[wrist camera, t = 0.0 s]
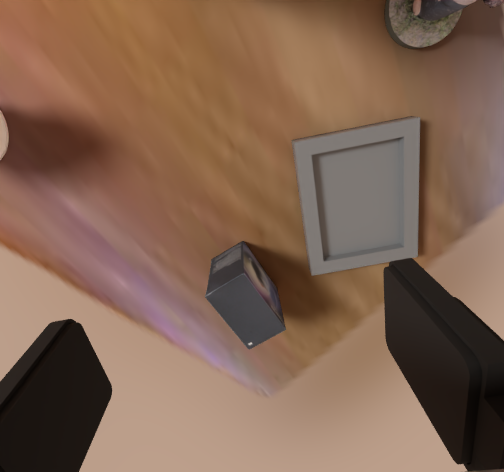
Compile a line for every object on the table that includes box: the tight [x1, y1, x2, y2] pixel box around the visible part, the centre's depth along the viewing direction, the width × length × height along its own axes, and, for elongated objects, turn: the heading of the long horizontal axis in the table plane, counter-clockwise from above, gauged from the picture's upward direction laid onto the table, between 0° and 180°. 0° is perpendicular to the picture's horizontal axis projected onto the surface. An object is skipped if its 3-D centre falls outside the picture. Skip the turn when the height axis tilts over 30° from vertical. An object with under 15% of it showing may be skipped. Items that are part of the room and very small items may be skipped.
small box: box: [205, 241, 286, 349], centre depth 47 cm, size 11×6×10 cm, turn 33°
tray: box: [292, 116, 420, 276], centre depth 46 cm, size 20×16×2 cm
